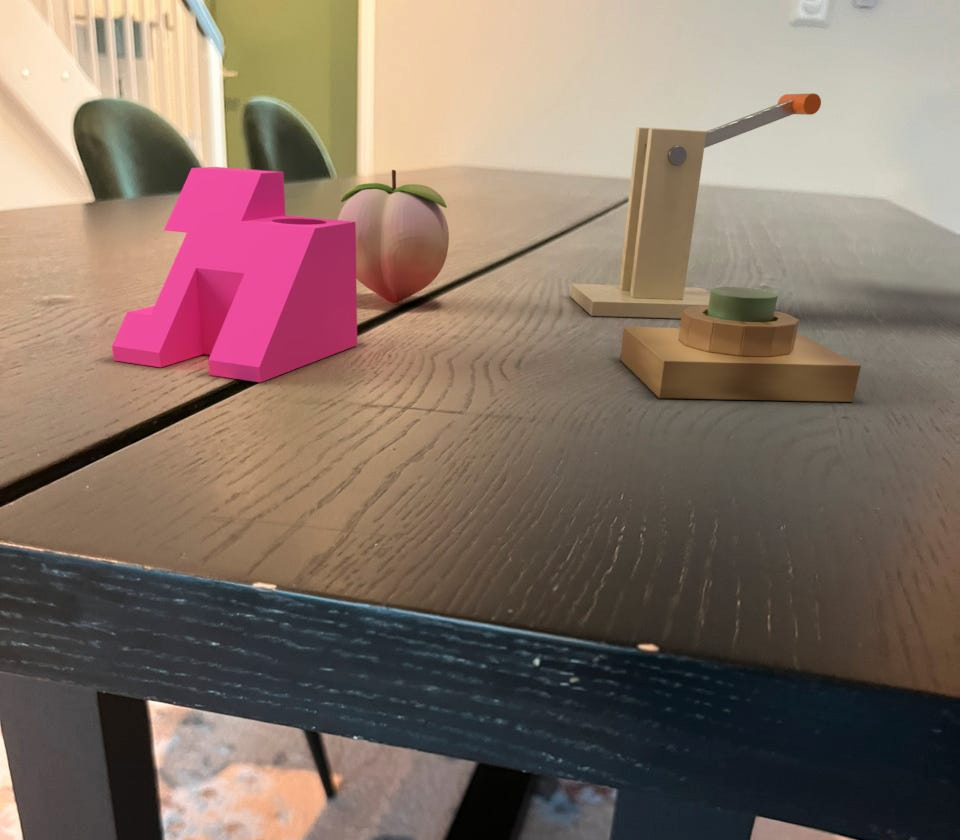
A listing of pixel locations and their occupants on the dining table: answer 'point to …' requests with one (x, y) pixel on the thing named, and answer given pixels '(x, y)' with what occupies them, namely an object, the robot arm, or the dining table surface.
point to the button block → (737, 360)
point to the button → (742, 304)
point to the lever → (765, 117)
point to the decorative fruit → (397, 236)
